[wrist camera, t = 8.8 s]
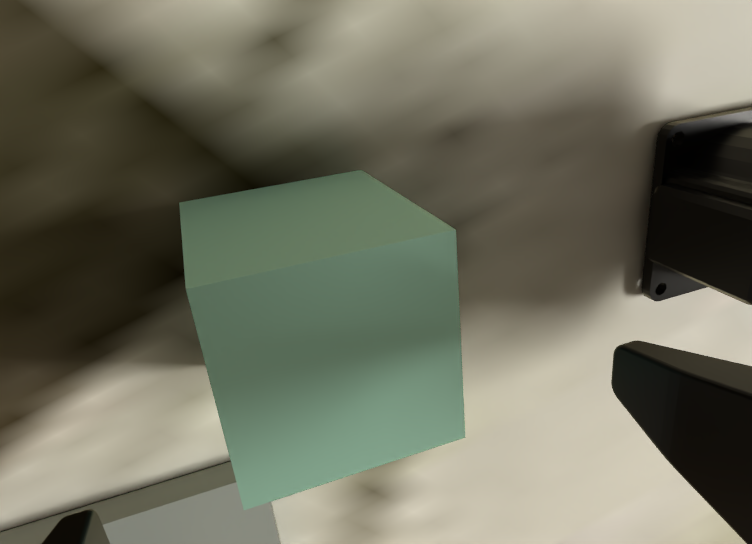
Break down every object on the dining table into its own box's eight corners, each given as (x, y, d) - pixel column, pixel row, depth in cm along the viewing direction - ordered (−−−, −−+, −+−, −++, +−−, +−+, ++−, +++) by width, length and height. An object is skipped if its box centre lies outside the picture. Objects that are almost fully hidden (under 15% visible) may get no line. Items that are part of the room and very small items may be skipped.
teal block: (360, 169, 16) (455, 229, 11) (377, 323, 18) (465, 437, 13) (179, 202, 15) (186, 289, 9) (219, 363, 17) (243, 510, 11)
